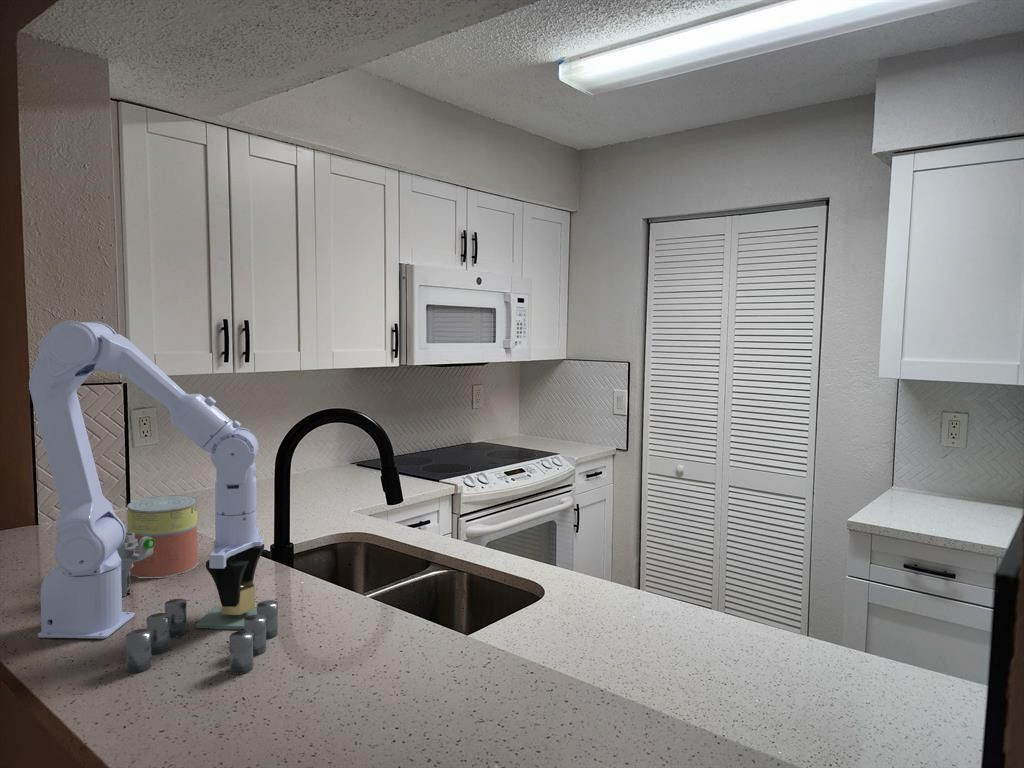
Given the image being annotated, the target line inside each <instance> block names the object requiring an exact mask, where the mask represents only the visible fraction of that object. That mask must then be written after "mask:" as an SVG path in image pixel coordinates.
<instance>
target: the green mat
mask: <svg viewBox="0 0 1024 768" xmlns="http://www.w3.org/2000/svg"><path fill="white" fill-rule="evenodd" d="M251 615H257V606H255V609H253V610H251V611H248V612H246V613H243V614H241V615H222V614H221V612H220V609H219V605H214V606H213V607H212V608H211V609H210V610H209V611H208V612H207V613H206V614H205V615H204V616H203V617H202V618H201V619H200V620H199V621H197V623H196V624H194V629H195V628H212V629H211V630H241V629H244V619H245V618H246V617H248V616H251ZM213 628H214V629H213Z"/></svg>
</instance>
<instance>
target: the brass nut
mask: <svg viewBox="0 0 1024 768" xmlns="http://www.w3.org/2000/svg"><path fill="white" fill-rule="evenodd" d="M255 591H256V590H255V585H254V582H253V583H252V581H242V582H241V590H240V597H239V602H238V605H237V606H236V607H223V606H222V604H221V601H220V597H219V596H218V606H219V609H220V612H221V614H222V615H241V614H243V613H246V612H248V611H251V610H253V609H255V607H256V606H255V597H256V596H255Z"/></svg>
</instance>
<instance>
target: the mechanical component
mask: <svg viewBox="0 0 1024 768" xmlns="http://www.w3.org/2000/svg"><path fill="white" fill-rule="evenodd" d="M154 545H155V540H154V539H152V538H151V537H148V536H145V537H143V538H141V539H140V541H139V543H138V539H135V534H134V533H132V532H128V531H126V537H125V540H124V542H123V544H122V545H121V547H120V548H118V549H117V550H118V555H119V557H120V558H121V585H122V596H125V595H126V596H127V595H128V594H127V593H130V594H131V575H130V569H131V568H133V566H134V565H133V562H138V561H140V560H142V559H145V558H147V557H149V556H151V555H152V554H153V547H154ZM135 551H138V552H139V554H136V553H135ZM126 596H125V597H126Z"/></svg>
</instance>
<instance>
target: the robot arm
mask: <svg viewBox="0 0 1024 768" xmlns="http://www.w3.org/2000/svg"><path fill="white" fill-rule="evenodd" d="M37 344H38V350H39V351H38V354H37V358H36V360H35V363H34V367H33V368H32V369H33V370H32V373H31V374H30V378H29V381H28V389H29V393H30V396H31V401H32V404H33V407H34V411H35V417H36V419H37V423H38V428H39V431H40V435H41V439H42V442H43V446H44V450H45V454H46V458H47V460H48V465H49V469H50V472H51V477H52V481H53V484H54V488H55V492H56V496H57V499H58V503H59V506H60V508H59V513H58V516H57V520H56V523H55V531H56V536H57V540H56V545H55V548H54V558H55V562H56V563H57V565H58V566H55V567H53V568H51V569H50V570H49V571H47V573H46V575H45V576H44V578H43V580H42V584H41V588H40V619H41V620H40V622H41V623H40V624H41V627H40V629H41V631H40V632H38V634H37V637H38V638H46V639H52V638H53V639H55V638H56V639H57V638H58V639H63V638H64V639H106V638H108V637H109V636H111V635H112V634H113V633H115V632H116V631H117V630H119V629H120V628H122V627H123V626H124V625H125V624H126V623H127V622H129V621H130V620H131V619H133V618H134V617H135V616H136V614H135V613H136V612H131V611H130V612H129V611H127V612H126V611H123V599H122V598H123V597H122V585H121V558H120V557H119V555H118V550H117V549H118V548H120V547H121V545H122V544H123V542H124V540H125V537H126V532H127V530H126V526H125V525H124V523H123V521H121V519H120V518H119V517H118V516H117V515H116V513H115V511H114V507H113V504H112V503H111V502H110V500H108V499H107V497H105V496H104V494H103V492H102V487H101V484H100V483H101V482H100V479H99V475H98V472H97V471H98V470H97V468H96V464H95V460H94V455H93V452H92V448H91V447H92V446H91V443H90V439H89V436H88V432H87V429H86V428H87V427H86V424H85V420H84V416H83V413H82V409H81V404H80V400H79V397H78V393H77V391H78V389H79V388H80V387H81V385H82V384H83V383H84V382H85V381H86V380H87V378H88V377H89V376H90V375H91V374H92V373H93V372H95V371H96V370H97V371H103V372H109V373H115V374H121V375H123V376H124V377H125V378H127V380H129V381H131V382H132V383H134V384H135V385H136V386H138V387H139V388H141V390H143V391H144V393H147V394H148V395H150V396H151V397H152V398H153V399H155V400H156V401H157V402H158V403H159V404H161V405H163V406H164V407H165V408H167V409H168V410H169V417H170V424H172V425H173V426H174V427H175V428H176V429H178V431H180V432H181V433H182V434H184V435H185V436H186V437H187V438H189V439H190V440H191V441H192V442H193V443H195V445H197V446H198V447H199V448H200V449H202V450H203V451H204V452H208V453H210V460H211V462H212V465H214V467H215V468H216V472H215V473H216V475H215V477H216V480H215V485H214V488H215V491H214V493H215V494H214V495H215V496H214V497H215V499H214V501H215V503H214V504H215V505H214V506H215V515H214V516H215V517H214V518H215V520H214V521H215V533H214V534H215V539H214V541H213V546H212V552H211V553H210V554H209V559H208V560H206V561H205V568H206V571H208V573H209V574H210V577H212V579H213V581H214V583H215V586H216V590H217V592H218V598H219V597H220V601H221V604H222V606H223V607H236V606H237V605H238V602H239V597H240V590H241V582H242V581H252V583H253V584H254V576H255V572H256V569H257V566H258V563H259V560H260V557H261V556H262V554H263V553H264V552H263V551H264V549H265V538H263V537H260V533H261V532H260V530H261V528H260V527H261V526H260V525H257V523H258V522H257V510H258V509H257V507H258V506H257V505H258V504H257V502H258V501H257V500H258V498H257V495H258V494H257V492H258V491H257V477H256V473H257V468H256V462H254V461H255V459H256V457H257V456H258V453H259V442H258V439H257V438H256V436H255V434H254V433H252V431H251V430H250V429H248V428H245V427H240V426H241V424H242V423H240V422H239V420H232V419H231V418H229V417H228V416H227V415H226V414H225V413H224V412H223V411H221V410H220V409H219V408H218V407H216V406H215V404H216V403H217V401H216V400H215V399H214V398H213V397H212V396H207V397H205V396H204V395H203V394H201V393H188V392H187V393H186V392H185V390H183V388H181V387H180V386H179V385H178V384H177V383H176V382H175V381H174V380H172V379H171V378H170V377H169V376H168V375H167V374H166V373H165V372H164V371H163V370H162V369H161V368H160V367H158V366H157V364H155V363H154V362H153V361H152V360H151V359H150V358H149V357H147V355H145V354H144V352H143V351H141V350H140V349H139V348H138V347H137V346H136V345H134V343H132V341H130V340H129V339H128V338H127V337H125V336H123V335H122V334H121V333H120V334H119V333H117V332H116V331H115V330H114V329H113V328H112V327H111V326H110V325H108V324H106V323H105V322H101V321H87V322H86V321H83V322H82V321H76V320H65V321H61V322H58V323H57V324H55V325H54V326H52V327H51V329H50V330H49V331H47V332H46V334H44V336H43V337H42V338H41V339H40V340H38V342H37Z"/></svg>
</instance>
